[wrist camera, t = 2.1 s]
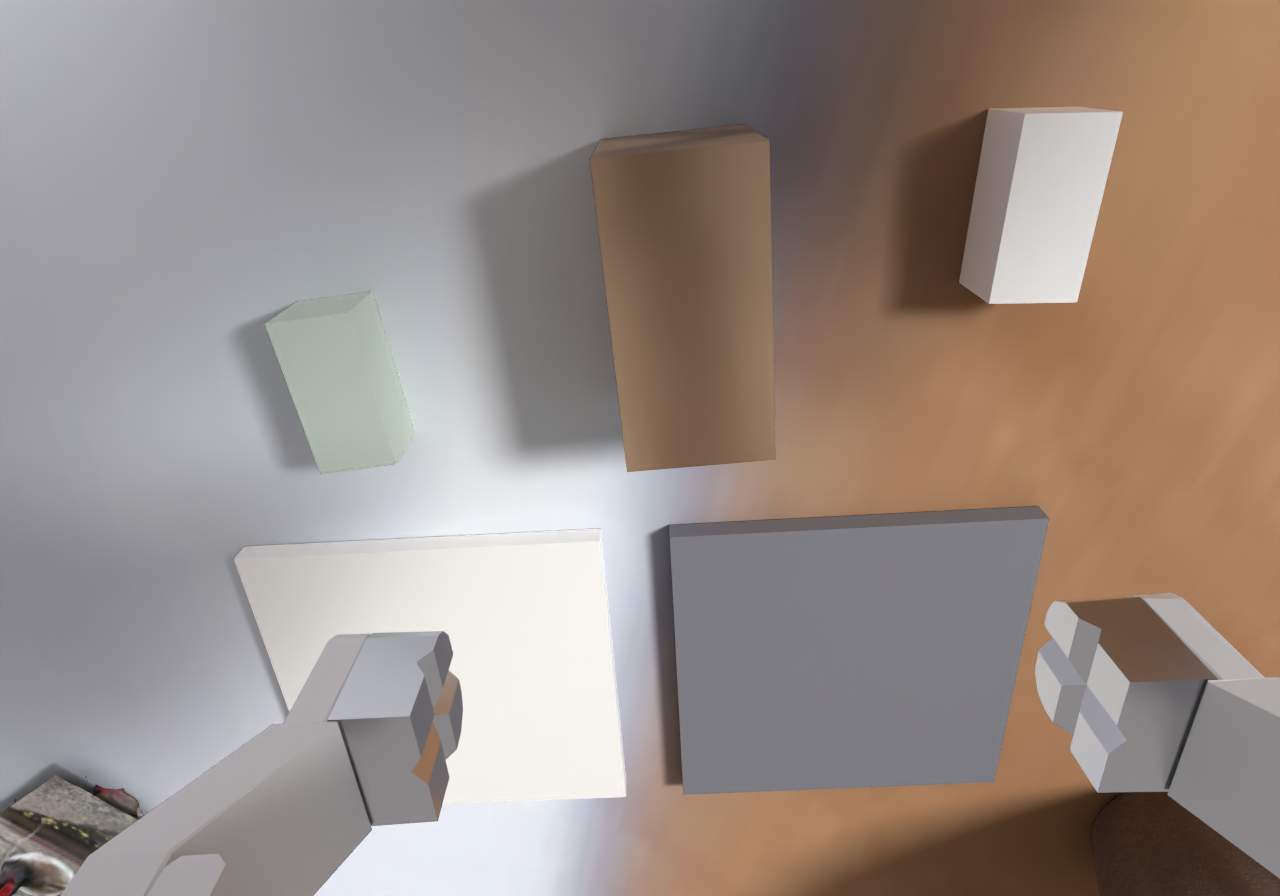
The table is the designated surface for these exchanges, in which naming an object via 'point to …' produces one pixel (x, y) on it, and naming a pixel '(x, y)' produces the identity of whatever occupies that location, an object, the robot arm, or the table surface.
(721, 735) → the charcoal mat
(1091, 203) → the pale grey brick
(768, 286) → the walnut brick
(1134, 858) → the plant pot
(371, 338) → the sage brick
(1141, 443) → the table surface
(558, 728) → the off-white mat
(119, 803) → the statue
